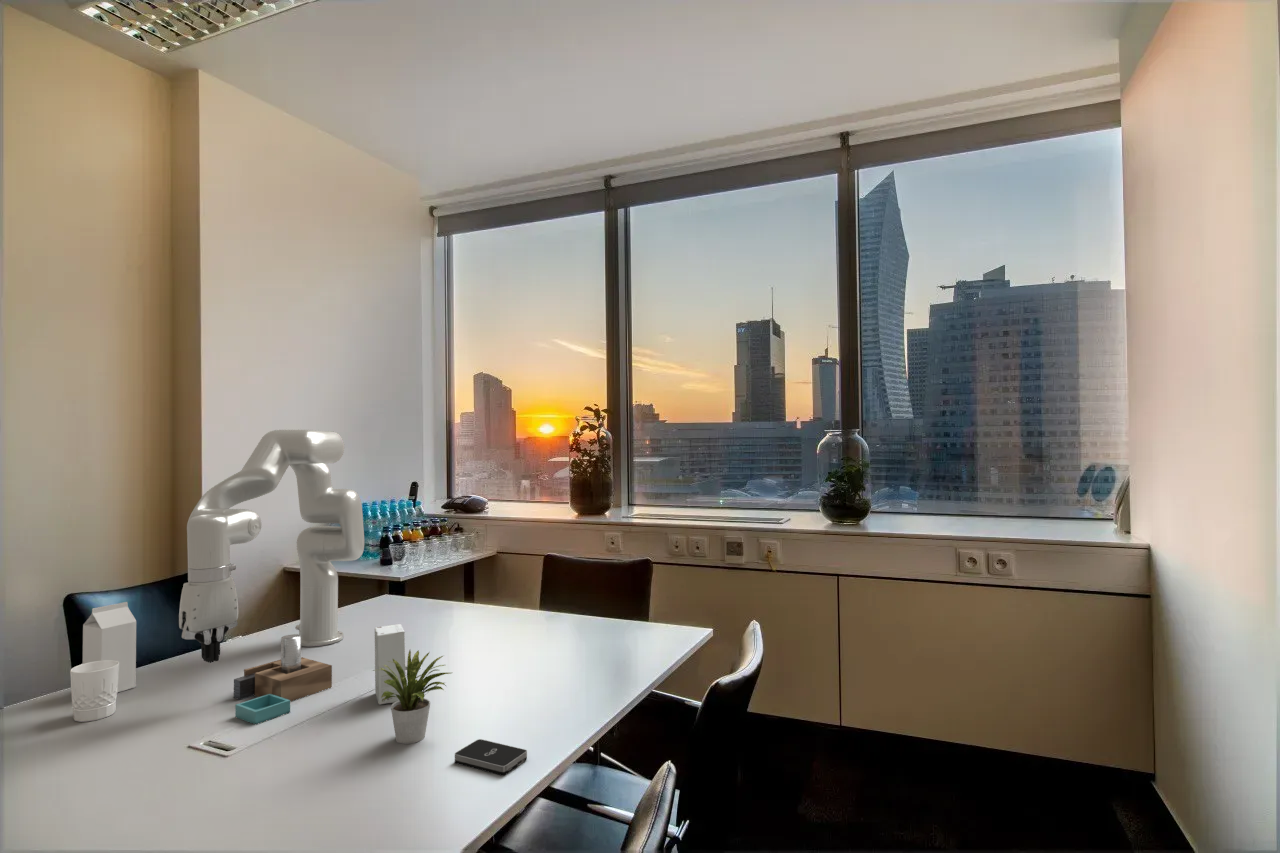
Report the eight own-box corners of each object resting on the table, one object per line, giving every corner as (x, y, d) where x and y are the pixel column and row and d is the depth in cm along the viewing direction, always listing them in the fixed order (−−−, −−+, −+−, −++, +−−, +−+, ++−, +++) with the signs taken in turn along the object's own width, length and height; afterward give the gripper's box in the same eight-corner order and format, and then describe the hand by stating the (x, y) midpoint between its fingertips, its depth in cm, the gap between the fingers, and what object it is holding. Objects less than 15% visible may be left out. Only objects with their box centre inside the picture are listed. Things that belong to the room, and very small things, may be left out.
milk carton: (135, 687, 158) (136, 603, 159) (100, 698, 152) (101, 610, 152) (117, 683, 161) (118, 600, 162) (81, 693, 155) (83, 607, 155)
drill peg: (277, 691, 156) (277, 637, 156) (294, 686, 159) (294, 633, 159) (287, 695, 154) (288, 640, 154) (304, 689, 157) (305, 635, 157)
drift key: (233, 697, 152) (233, 679, 152) (269, 686, 159) (269, 668, 159) (239, 699, 151) (239, 681, 151) (275, 688, 158) (275, 670, 158)
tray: (235, 717, 142) (235, 704, 142) (269, 705, 148) (270, 693, 148) (255, 724, 138) (255, 711, 138) (290, 712, 144) (290, 700, 144)
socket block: (243, 692, 155) (244, 669, 155) (294, 676, 166) (295, 655, 166) (280, 704, 148) (280, 681, 148) (331, 687, 158) (331, 665, 158)
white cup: (128, 710, 145) (128, 662, 145) (87, 725, 138) (87, 674, 138) (101, 706, 148) (102, 658, 148) (60, 720, 140) (60, 670, 140)
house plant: (400, 765, 121) (401, 669, 121) (350, 746, 128) (350, 656, 128) (462, 735, 133) (462, 648, 133) (413, 719, 140) (413, 637, 140)
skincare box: (406, 701, 150) (406, 631, 150) (376, 706, 147) (376, 635, 148) (402, 688, 158) (402, 622, 158) (373, 692, 155) (373, 625, 155)
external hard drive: (504, 779, 117) (504, 767, 117) (452, 765, 122) (452, 754, 122) (528, 761, 123) (528, 750, 123) (478, 749, 128) (478, 738, 128)
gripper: (235, 565, 155) (237, 647, 156) (161, 579, 143) (163, 668, 143) (254, 569, 151) (256, 653, 152) (179, 584, 139) (181, 675, 139)
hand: (211, 660), depth 148 cm, fingers closed
